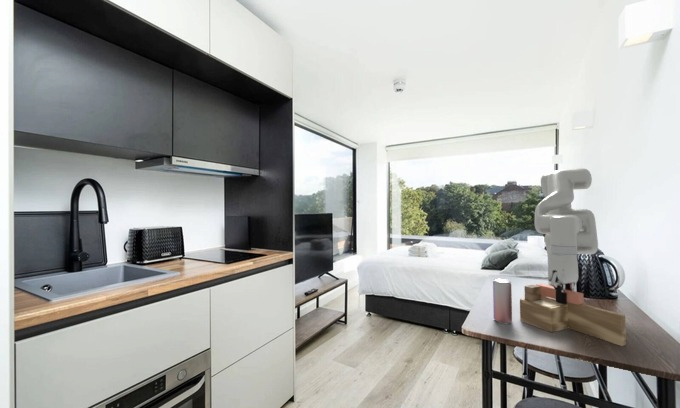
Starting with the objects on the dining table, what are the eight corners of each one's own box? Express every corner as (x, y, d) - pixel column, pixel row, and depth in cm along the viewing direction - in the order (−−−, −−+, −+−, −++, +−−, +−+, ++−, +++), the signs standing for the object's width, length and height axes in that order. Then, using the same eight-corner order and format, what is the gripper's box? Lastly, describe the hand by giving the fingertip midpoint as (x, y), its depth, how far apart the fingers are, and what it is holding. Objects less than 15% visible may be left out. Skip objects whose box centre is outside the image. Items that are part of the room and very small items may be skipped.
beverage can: (490, 318, 109) (489, 278, 110) (505, 317, 110) (504, 278, 110) (500, 324, 103) (499, 282, 104) (516, 323, 104) (515, 282, 104)
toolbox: (542, 314, 112) (542, 285, 112) (629, 343, 88) (628, 305, 88) (519, 320, 107) (519, 289, 107) (605, 352, 83) (604, 312, 83)
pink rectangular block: (541, 292, 111) (541, 283, 111) (583, 303, 98) (583, 293, 98) (536, 293, 110) (535, 284, 110) (578, 304, 97) (578, 294, 97)
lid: (543, 298, 110) (543, 282, 110) (568, 305, 102) (568, 288, 102) (524, 302, 106) (524, 286, 106) (549, 309, 98) (549, 292, 98)
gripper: (566, 247, 109) (567, 296, 108) (537, 250, 102) (538, 302, 102) (589, 250, 102) (590, 302, 101) (560, 253, 96) (561, 309, 95)
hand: (564, 301), depth 102 cm, fingers closed on pink rectangular block, 3 cm apart
